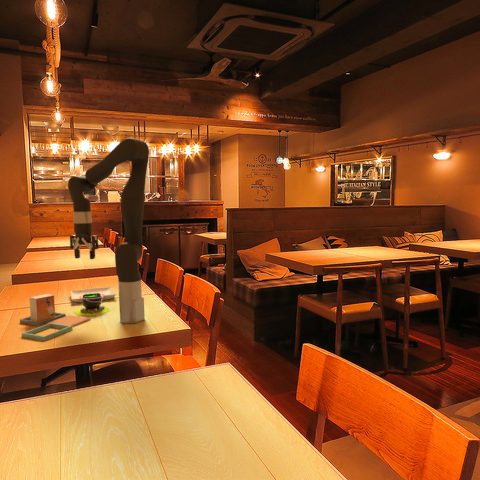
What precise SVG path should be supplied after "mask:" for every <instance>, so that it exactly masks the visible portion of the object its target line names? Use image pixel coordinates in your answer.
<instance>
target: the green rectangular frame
mask: <svg viewBox="0 0 480 480" xmlns="http://www.w3.org/2000/svg"><path fill="white" fill-rule="evenodd" d="M49 328H52V329H53V328H54V329H59V330H56V331H54V332H51V333H49V334H45V335H40V334H37V333H39V332H42V331H44V330H47V329H49ZM72 330H73V327H72V326H69V325H62V324H55V323H49V324H45V325H42V326H37V327H36V328H32V329H30V330H27V331H24V332H22V333H21V337H22V338H24V339H31V340H36V341H43V342H45V341H48V340H50V339H53V338H55V337H57V336H60V335H62V334H65V333H68V332H70V331H72Z"/></svg>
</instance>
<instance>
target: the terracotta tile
mask: <svg viewBox="0 0 480 480" xmlns="http://www.w3.org/2000/svg"><path fill="white" fill-rule="evenodd" d="M91 320H92V319H91V317H88V316H87V317H84V316H80V315H70V314H69V315H66V316H65V317H63V318H60V319H57V320H54V321H51V322H48V323H47V324H49V323H55V324H62V325H69V326H72V328H73V327H77V326H78V325H82V324H83V323H86V322H88V321H91Z"/></svg>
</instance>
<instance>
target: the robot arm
mask: <svg viewBox="0 0 480 480" xmlns="http://www.w3.org/2000/svg"><path fill="white" fill-rule="evenodd" d="M149 157H150V148H149V146H148V144H147V142H146V141H144V140H141V139H137V138H134V137H126V138H125V139H123V140H122V141H121V142H119V143H118V144H117V145H116V146H115V147H114V148H113V149H112V150H111V151H110V152H109V153H108V154H106V156H105V157H104V158H103V159H101V160H100V161H98V162H97V163H96V164H94V165H92V166H91V167H89V168H88V169H87V170H86V171H85V174H84V176H83V175H72V176H71V177H69V179H68V181H67V187H68V191H69V194H70V198H71V200H72V206H73V219H72V220H73V233H74V234H70V235H69V248H70V249H72V250H73V252H74V258H75V259H80V258H81V251H80V250H81V249H80V248H81V246H86V247H87V249H88V250H89V260H94V259H95V258H96V250H99V248H100V247H99V238H98V237H99V236H98V235H92V233H93V219H92V218H93V216H92V210H91V201H90V199H89V198H88V197H85V196H84V193H89V192H92V191H93V190H94V189H96V188H95V187H97V186H98V184H99V183H101V182H103V181H104V180H106V179H108V177H110V176H111V175H112V174H113V172H114V170H115V169H116V167H118V166H119V165H121V164H122V163H125V162H131V165H130V166H131V168H130V175H129V177H128V180H127V181H126V183H125V184H124V187H123V188H122V192H121V195H120V196H121V197H120V213H121V218H122V221H123V225H124V226H123V227H124V238H123V243H121V244H119V245H118V246H117V247H116V248H115V251H114V252H115V253H114V260H115V261H114V263H115V272H116V276H117V278H118V281H117V282H118V300H119V301H118V303H119V304H118V305H119V322H120V323H122V324H137V323H140V322H142V321H144V320H145V318H146V317H145V298H144V297H143V296H142V295H143V292H142V291H143V290H142V274H141V272H140V271H139V267H138V262H139V261H140V260H141V258H142V256H143V251H144V250H143V248H144V247H143V222H144V221H143V220H144V209H145V189H146V178H147V170H148V164H149Z"/></svg>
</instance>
